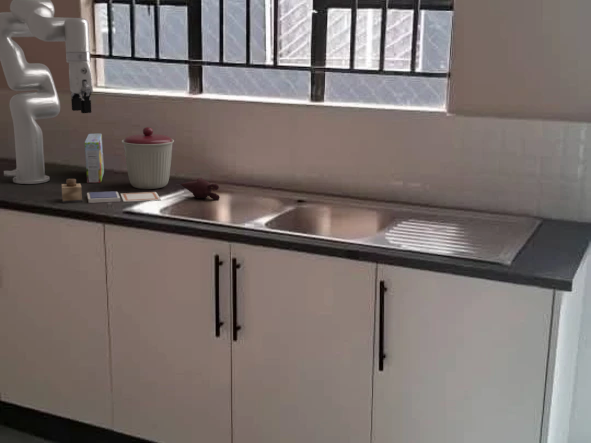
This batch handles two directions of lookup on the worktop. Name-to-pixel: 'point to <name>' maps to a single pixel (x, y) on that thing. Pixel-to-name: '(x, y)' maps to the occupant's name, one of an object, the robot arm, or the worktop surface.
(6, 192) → the worktop surface
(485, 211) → the worktop surface
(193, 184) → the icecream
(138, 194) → the marked card
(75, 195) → the stamp
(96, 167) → the snack box
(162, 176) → the canister
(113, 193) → the ink pad
